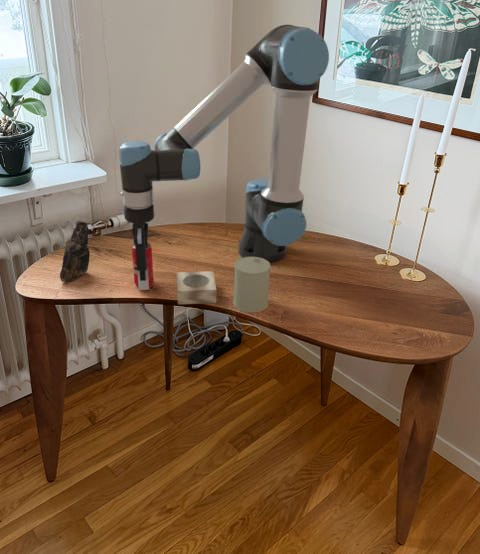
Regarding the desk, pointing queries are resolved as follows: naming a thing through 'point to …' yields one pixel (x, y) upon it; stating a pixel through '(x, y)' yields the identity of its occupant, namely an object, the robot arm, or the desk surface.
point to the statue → (76, 254)
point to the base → (196, 287)
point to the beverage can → (149, 264)
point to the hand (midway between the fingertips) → (144, 283)
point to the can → (251, 284)
